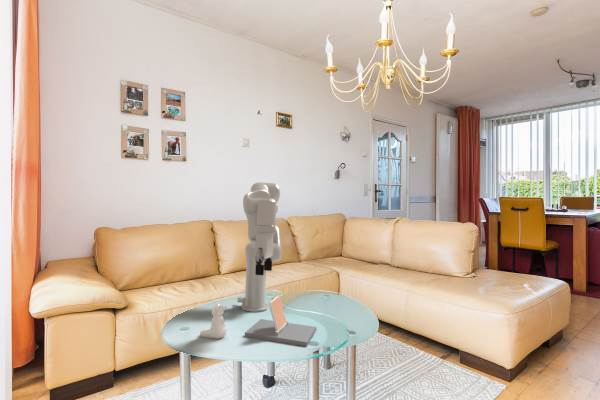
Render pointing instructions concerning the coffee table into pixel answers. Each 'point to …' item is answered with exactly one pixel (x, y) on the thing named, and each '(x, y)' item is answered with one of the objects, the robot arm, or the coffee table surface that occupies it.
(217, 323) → the sitting furry creature
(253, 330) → the board
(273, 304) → the tile
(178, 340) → the coffee table surface
